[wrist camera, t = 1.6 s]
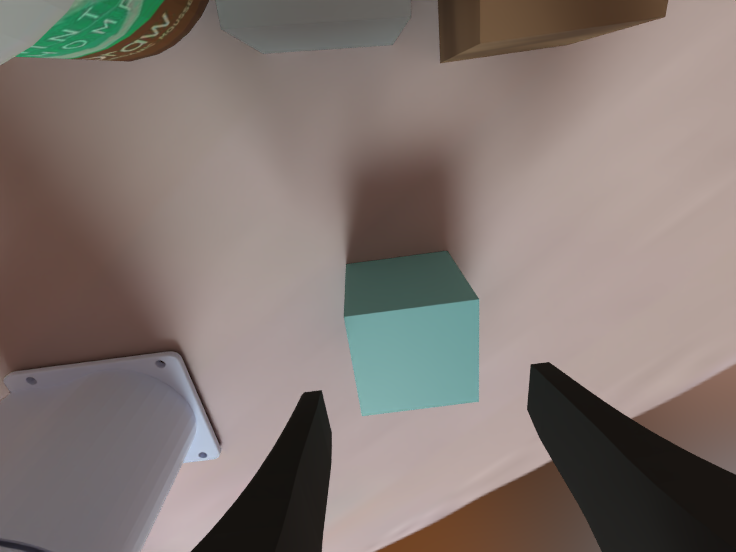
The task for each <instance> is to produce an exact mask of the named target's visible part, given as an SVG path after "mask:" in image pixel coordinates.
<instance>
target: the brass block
mask: <svg viewBox="0 0 736 552" xmlns="http://www.w3.org/2000/svg"><path fill="white" fill-rule="evenodd" d="M667 4H668V0H438V12H439V40H440V63H445V62H452V61H459V60H466V59H473V58H480V57H487V56H494V55H501V54H508V53H515V52H522V51H529V50H536V49H543V48H549V47H556V46H563V45H569V44H572V43H576V42H579V41H583V40H586V39H590V38H593V37H597V36H600V35H604V34H607V33H611V32H614V31H618V30H621V29H625V28H628V27H632V26H635V25H639V24H642V23H646V22H649V21H653V20H656V19H660V18H663V17H665V15H666V10H667Z"/></svg>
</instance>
